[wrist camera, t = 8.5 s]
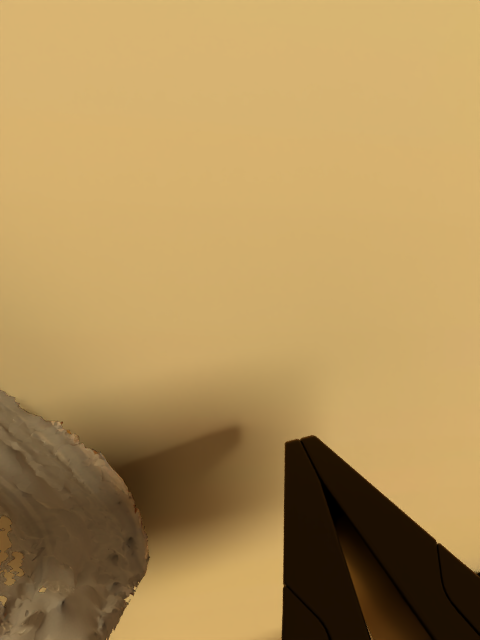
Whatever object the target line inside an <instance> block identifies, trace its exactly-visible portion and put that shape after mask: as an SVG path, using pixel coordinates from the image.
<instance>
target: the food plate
mask: <svg viewBox="0 0 480 640" xmlns="http://www.w3.org/2000/svg"><path fill="white" fill-rule="evenodd" d="M18 406H19V403H17V402H15V397H11V396H8V395H7V394H6V393H5V392H4V391H1V390H0V518H1V516H6V517H8V518H9V519H10V520H11V521H12V524H11V525H10V527H11V529H12V531H10V532H8V533H7V535H8V537H9V540H10V541H11V544H12V545H11V548H8V549H7V550H6V551H5V552H6V553H7V554H8V557H7V560H5V561H3V562H2V564H1V565H0V568H1V569H0V571H1V570H3V571H4V569H6V570H7V573H8V572H9V570H12V568H11V567H10V566H9V565H7V563H9V562H10V561H11V560H13V559H15V558H14V556H12V555H11V554H12V553H13V552H20V553H22V554H23V556H24V558H23V559H22V560H23V562H22V563H21V564H22V566H21V567H19V568H22V570H23V572H24V575H23V576H22V577H19V576H13V577H12V579H15V582H14V584H12V585H11V586H8V585H5V584H4V582H6V580H7V579H6V578H5V577H4V574H5V572H1V573H0V596H5V597H7V602H6V603H5V606H6V607H4V606H3V605H2V602H1V601H0V640H106V638H107V640H108V639H109V636H110V634H111V633H112V629H114V630H115V628H116V625H117V624H118V622H119V619H120V617H121V616H122V614H123V611H124V609H125V608H126V606H127V605H128V603H127V602H125V600H124V599H125V598H127V597H128V596H129V595H130V594H132V595H134V592H135V591H136V590H134V586H135V587H137V585H138V582H139V583H140V581H141V580H142V578H143V577H144V576H145V573H146V570H147V564H148V561H149V558H150V557H149V552H148V548H147V546H148V545H147V542H148V540H147V538H148V536H147V534H146V533H145V531H144V528H145V526H144V527H143V528H142V518H141V516H140V510H139V509H136V508H135V506H136V505H134V503H135V502H134V499H133V497H132V494H131V492H128V487H127V486H126V485H125V483H124V481H123V479H122V478H121V477H120V476H119V475H118V474H117V473H116V472H115V471H114V470H113V469H112V468H111V467H110V465H109V464H108V462H107V461H106V459H105V458H104V456H103V455H102V453H101V452H100V453H98V452H95V450H93V449H89V448H85V446H84V444H83V443H81V444H79V439H78V438H79V436H77V435H76V436H75V433H74V434H72V435H71V433H70V430H65V429H63V428H62V426H61V424H62V423H63V422H61V424H60V423H59V422H58V421H44V419H43V418H42V417H39V416H36V415H32V414H29V413H27V412H26V411H25V410H23V409H21V408H19V407H18ZM2 530H5V529H0V531H2ZM0 552H1V550H0ZM10 573H13V574H15V575H16V574H18V573H19V572H15V571H13V572H10ZM42 587H45V588H46V591H45V592H44V593H43V592H39V590H40V588H42ZM136 589H137V588H136Z"/></svg>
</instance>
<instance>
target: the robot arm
mask: <svg viewBox="0 0 480 640" xmlns="http://www.w3.org/2000/svg"><path fill="white" fill-rule="evenodd" d="M283 585H284V587H283V615H282V640H371V638H370V635H369V632H368V629H367V626H368V628H369V630H370V633H371V635H372V637H373V639H374V640H480V577H479V576H478V575H477V574H476V573H474V572H473V571H472V570H471V569H469V568H468V567H467V566H466V565H465V564H463V563H462V562H461V561H460V560H459V559H457V558H456V557H455V556H454V555H453V554H452V553H451V552H449V551H448V550H447V549H446V548H445V547H444V546H443V545H441V544H440V543H438V544H437V542H436V540H435V539H434V538H433V537H432V536H431V535H430V534H428V533H427V532H426V531H425V530H424V529H423V528H421V527H420V526H419V525H418V524H417V523H416V522H415V521H413V520H412V519H411V518H410V517H409V516H408V515H406V514H405V513H404V512H403V511H402V510H401V509H399V508H398V507H397V506H396V505H395V504H394V503H393V502H391V501H390V500H389V499H388V498H387V497H386V496H384V495H383V494H382V493H381V492H380V491H379V490H377V489H376V488H375V487H374V486H373V485H372V484H371V483H369V482H368V481H367V480H366V479H365V478H364V477H362V476H361V475H360V474H359V473H358V472H357V471H355V470H354V469H353V468H352V467H351V466H350V465H349V464H347V463H346V462H345V461H344V460H343V459H342V458H340V457H339V456H338V455H337V454H336V453H335V452H333V451H332V450H331V449H330V448H329V447H328V446H326V445H325V444H324V443H323V442H322V441H321V440H320V439H318V438H317V437H316V436H314V435H311V436H307V437H303V438H301V439H300V440H299V439H295V440H291V441H287V442H286V443H285V476H284V559H283ZM365 621H366V622H365ZM366 624H367V626H366Z"/></svg>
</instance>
